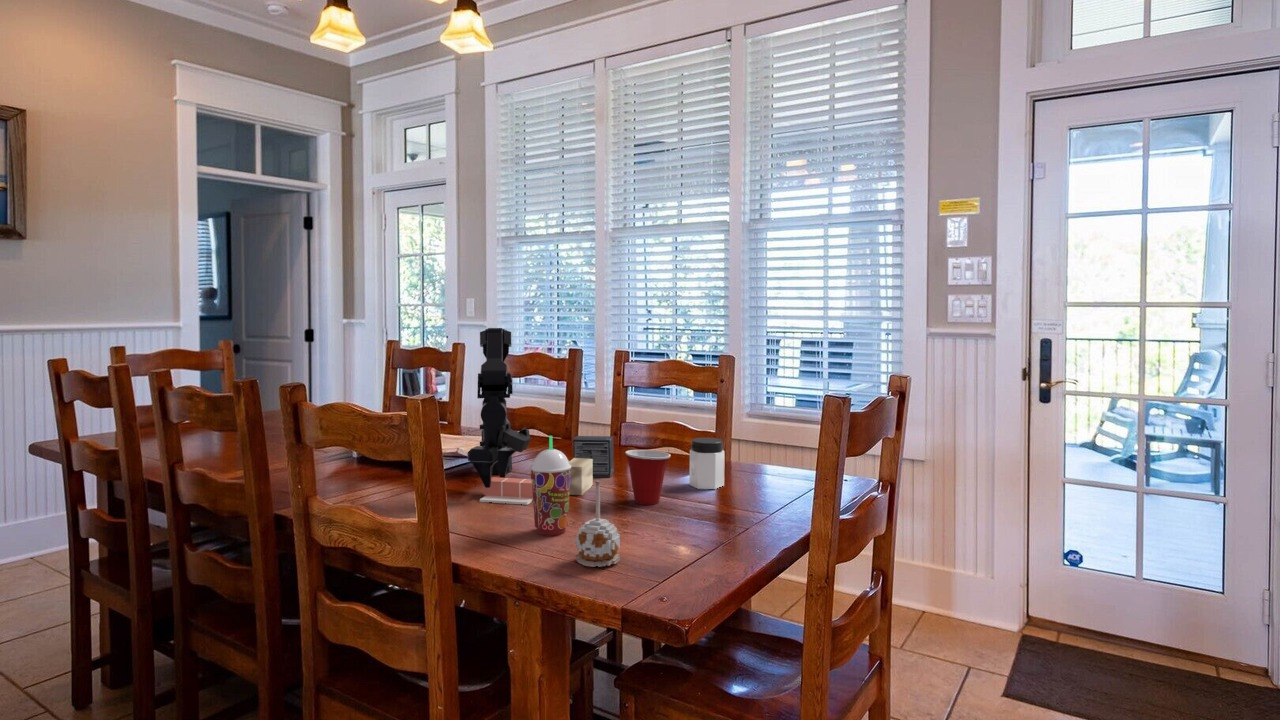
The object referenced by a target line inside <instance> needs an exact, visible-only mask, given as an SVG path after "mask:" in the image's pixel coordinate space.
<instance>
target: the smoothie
mask: <svg viewBox="0 0 1280 720" xmlns="http://www.w3.org/2000/svg"><path fill="white" fill-rule="evenodd" d="M548 437H549V441H548V446H549V448H547V449H544V450H542V451H540V452H538V454H537V455H536V457H535V458H534V460H533V463H532V465H530V467H529V468H530V475H531V476H530V477H531V478H530V479H532V492H533V501H532V505H533V519H534V527H535V528H536V530H537V531H536V532H537V533H538V534H540V535H541V536H547V535H548V536H549V537H550V536H551V537H552V536H558V535H562V534H564V533H565V532H566V528H567V527H568V526H569V509H570V496H571V495H570V477H571V465H570V463H569V461H570V460H569V459H568V457H567V456H566V455H565V453H563V452H562V451H561V450H558V449H555V448H553V447H554V446H553V435H549V436H548Z"/></svg>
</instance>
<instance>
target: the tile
mask: <svg viewBox="0 0 1280 720" xmlns="http://www.w3.org/2000/svg"><path fill="white" fill-rule="evenodd" d="M489 502H492V503H493V504H505V503H506V504H505V505H507V504H508V505H509V504H510V505H521V504H522V505H525V506H528V505H529V504H530V503H533V498H525V497H509V496H492V495H484V496H483V497H482V498H481V497H480V498H479V503H489ZM492 503H491V504H492ZM522 505H521V506H522Z"/></svg>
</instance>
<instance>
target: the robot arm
mask: <svg viewBox="0 0 1280 720" xmlns="http://www.w3.org/2000/svg"><path fill="white" fill-rule="evenodd" d="M479 346H480V348H482V354H483V355H484V357H485V359H486V361H484V362H483V363H482V364H481V365H480V373H477V395H476V396H477V397H476V398H477V399H483V400H482V403H481V406H482V407H481V411H480V418H481V421H482V423H481V424H479V430H481V441H479V445H476V446H474V447H472V448H471V449H469V450H468V452H467V461H468V462H470V464H472V465H473V467H474V469H475V471H476V472H477V474H478V476H479V478H480V480H481V482H482V484H483V487H484V486H485V487H486V488H490V485H491V477H493V476H492V475H499V478H506V476H507V473H510V472H511V471H513V455H514V454H515V453H517V452H518V453H523V452H524V451H526V450H527V449H528V446H529V443H531V442H532V439H531V436H530V435H531V434H530V430H529V429H527V428H521V429H520V430H514V429H513V428H511V426H512V425H511V423H510V421H509V419H508V418H507V400H506V399H510V398H511V395H513V394H514V393H513V391H514V390H513V377H512V374H511V373H510V372H508V365H507V363H505V361H506V359H507V357H508V355H509V353H510V348H511V347H512V331H509V330H507V329H506V330H505V328H503V327H487V328H486V329H484V330H483V331H480V332H479Z"/></svg>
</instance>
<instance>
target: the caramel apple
mask: <svg viewBox="0 0 1280 720" xmlns="http://www.w3.org/2000/svg"><path fill="white" fill-rule="evenodd" d="M600 485H601V481H600V480H596V481H595V518H592V519H590V520H588V521H586V522H585V523H583V525H581V527H579V528H578V533H576V536H575V537H574V545H575V546H576V547H577V551H578V554H576V555H575V556H576V557H575V558H576V559H575V561H577V562H578V564H581V565H582V566H586V567H592V568H594V567H596V566H598V567H597V568H599V567H601V568H602V567H606V565H607V566H609V567H610V566H611V565H616V564H617V563H618V562H619V561H621V554H619V553H618V550H619V549H621V534H620V533H619V532H618V527H616V526H615V524H613V523H612V522H610V520H607V519H605V518H601V486H600Z"/></svg>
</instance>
